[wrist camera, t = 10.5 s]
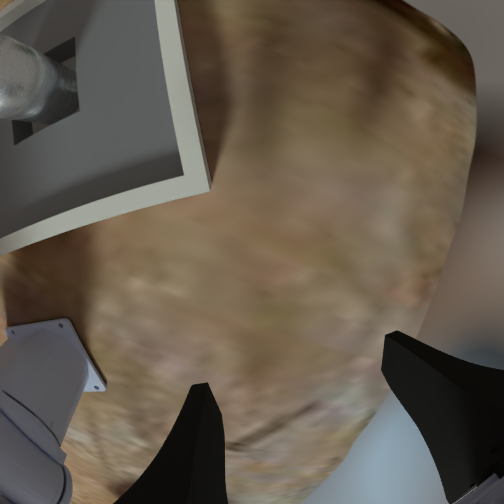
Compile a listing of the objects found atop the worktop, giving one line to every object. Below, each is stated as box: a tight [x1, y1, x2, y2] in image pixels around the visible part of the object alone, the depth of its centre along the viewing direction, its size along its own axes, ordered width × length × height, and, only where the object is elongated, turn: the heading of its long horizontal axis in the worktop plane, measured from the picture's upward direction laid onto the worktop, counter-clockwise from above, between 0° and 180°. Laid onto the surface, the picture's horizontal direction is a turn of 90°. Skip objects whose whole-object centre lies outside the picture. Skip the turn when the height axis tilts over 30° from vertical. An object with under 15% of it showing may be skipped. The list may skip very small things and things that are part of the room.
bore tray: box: [0, 0, 212, 256], centre depth 12 cm, size 18×18×5 cm
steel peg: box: [0, 35, 79, 125], centre depth 9 cm, size 4×4×8 cm
